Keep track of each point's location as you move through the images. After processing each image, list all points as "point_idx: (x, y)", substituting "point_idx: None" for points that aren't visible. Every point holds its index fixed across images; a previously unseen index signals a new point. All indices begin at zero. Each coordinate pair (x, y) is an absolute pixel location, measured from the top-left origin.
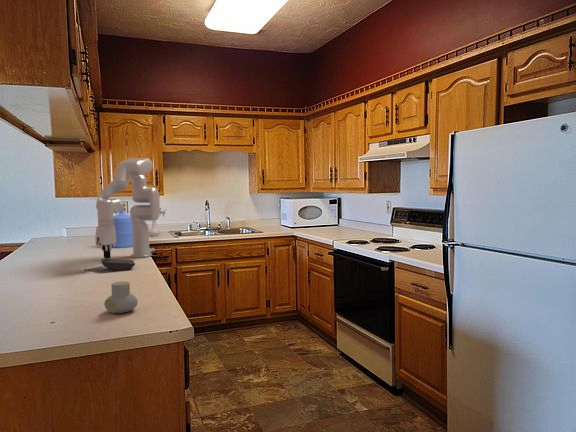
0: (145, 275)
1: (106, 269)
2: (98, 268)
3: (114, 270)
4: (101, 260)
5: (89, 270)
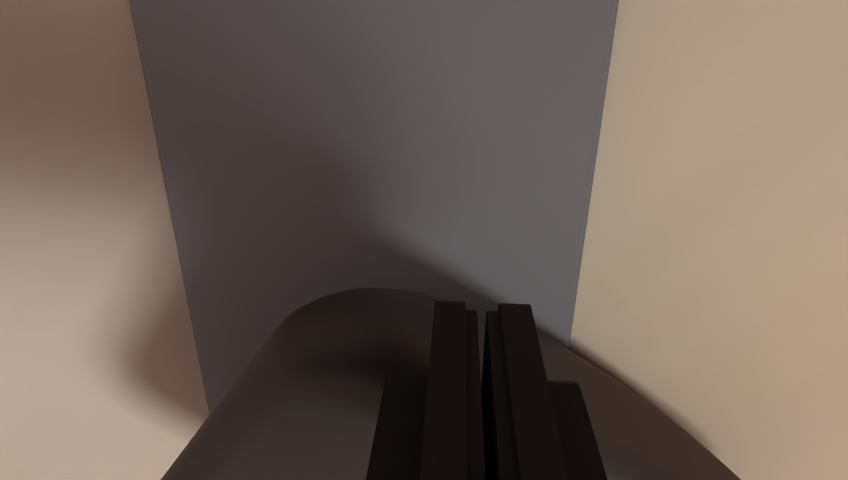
0: None
1: None
2: (351, 121)
3: None
4: (196, 449)
5: (151, 89)
